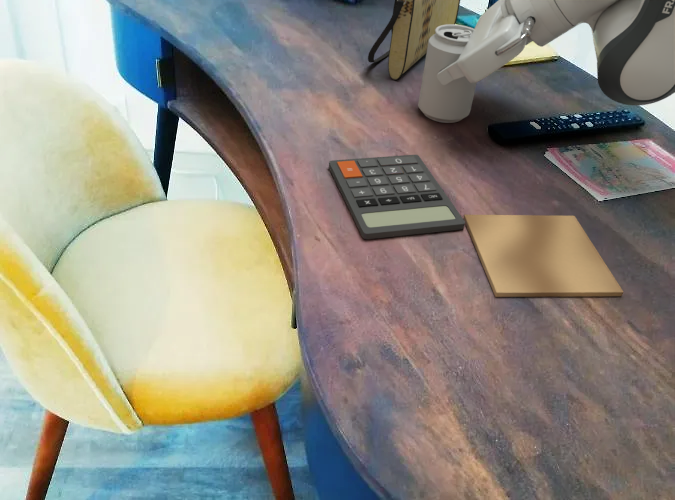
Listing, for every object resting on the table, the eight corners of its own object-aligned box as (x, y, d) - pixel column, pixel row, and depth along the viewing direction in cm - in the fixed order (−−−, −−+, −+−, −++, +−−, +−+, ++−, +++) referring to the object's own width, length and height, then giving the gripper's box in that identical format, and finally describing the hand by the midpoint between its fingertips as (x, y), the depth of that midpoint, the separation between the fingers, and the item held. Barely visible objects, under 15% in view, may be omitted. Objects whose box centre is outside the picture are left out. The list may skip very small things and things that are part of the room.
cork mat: (573, 219, 74) (574, 215, 74) (621, 296, 64) (624, 292, 64) (462, 218, 73) (464, 214, 72) (495, 297, 62) (496, 292, 62)
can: (412, 101, 96) (425, 20, 88) (461, 102, 97) (478, 22, 89) (423, 125, 90) (437, 40, 82) (475, 126, 91) (494, 42, 83)
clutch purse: (422, 24, 123) (435, -61, 113) (456, 33, 121) (473, -54, 111) (355, 76, 101) (365, -23, 92) (396, 88, 99) (411, -13, 90)
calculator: (418, 152, 81) (466, 222, 70) (416, 159, 82) (465, 228, 71) (328, 159, 78) (364, 232, 67) (328, 165, 79) (363, 239, 68)
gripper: (543, 57, 74) (444, 116, 82) (555, 7, 90) (471, 61, 98) (514, 11, 72) (416, 76, 80) (531, -32, 88) (447, 26, 96)
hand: (446, 67), depth 89 cm, fingers closed on can, 7 cm apart
